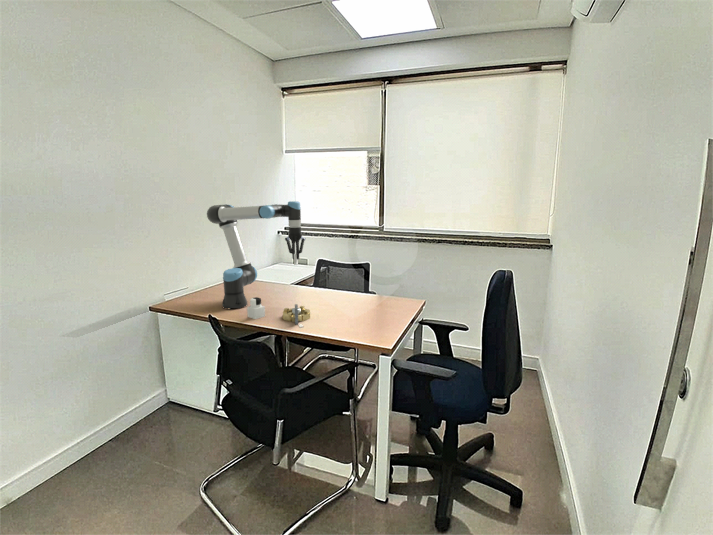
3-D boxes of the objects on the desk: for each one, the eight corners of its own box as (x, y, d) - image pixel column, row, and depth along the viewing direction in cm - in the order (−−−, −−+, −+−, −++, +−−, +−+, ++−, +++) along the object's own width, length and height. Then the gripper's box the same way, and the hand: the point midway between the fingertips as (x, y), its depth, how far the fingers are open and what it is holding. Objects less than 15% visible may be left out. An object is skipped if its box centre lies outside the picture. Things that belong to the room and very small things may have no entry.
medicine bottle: (257, 315, 219) (256, 295, 217) (265, 318, 215) (264, 298, 212) (247, 318, 214) (246, 298, 211) (255, 321, 209) (253, 300, 207)
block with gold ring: (283, 313, 219) (282, 298, 217) (309, 312, 221) (309, 297, 219) (282, 325, 199) (281, 309, 198) (311, 323, 202) (310, 307, 200)
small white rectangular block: (298, 327, 200) (298, 324, 200) (302, 326, 201) (302, 324, 200) (299, 329, 196) (299, 326, 196) (303, 329, 197) (303, 326, 197)
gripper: (306, 226, 233) (307, 263, 238) (286, 226, 235) (288, 262, 240) (303, 227, 226) (304, 265, 231) (282, 227, 228) (283, 265, 233)
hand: (296, 264), depth 235 cm, fingers closed
